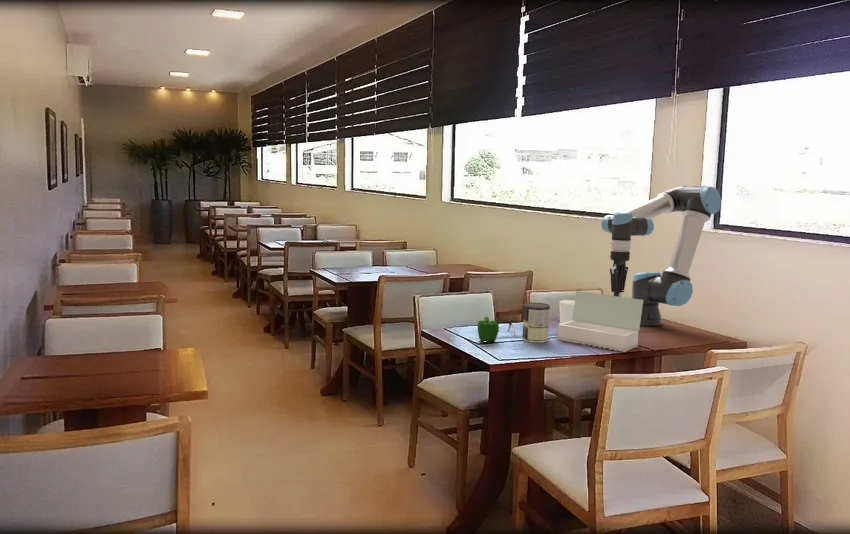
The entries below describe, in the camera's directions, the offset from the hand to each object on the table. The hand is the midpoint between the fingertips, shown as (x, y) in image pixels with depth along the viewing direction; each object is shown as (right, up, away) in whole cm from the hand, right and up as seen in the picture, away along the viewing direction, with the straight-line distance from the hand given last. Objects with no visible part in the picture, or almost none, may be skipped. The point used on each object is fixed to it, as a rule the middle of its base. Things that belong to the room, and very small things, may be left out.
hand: (616, 308), depth 279 cm
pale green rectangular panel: (-6, 0, -8) cm, 10 cm away
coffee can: (-35, -12, -9) cm, 38 cm away
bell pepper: (-54, -12, -14) cm, 57 cm away
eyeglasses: (-49, -11, +1) cm, 51 cm away
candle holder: (-17, -10, +11) cm, 23 cm away
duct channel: (-11, -13, -12) cm, 21 cm away
